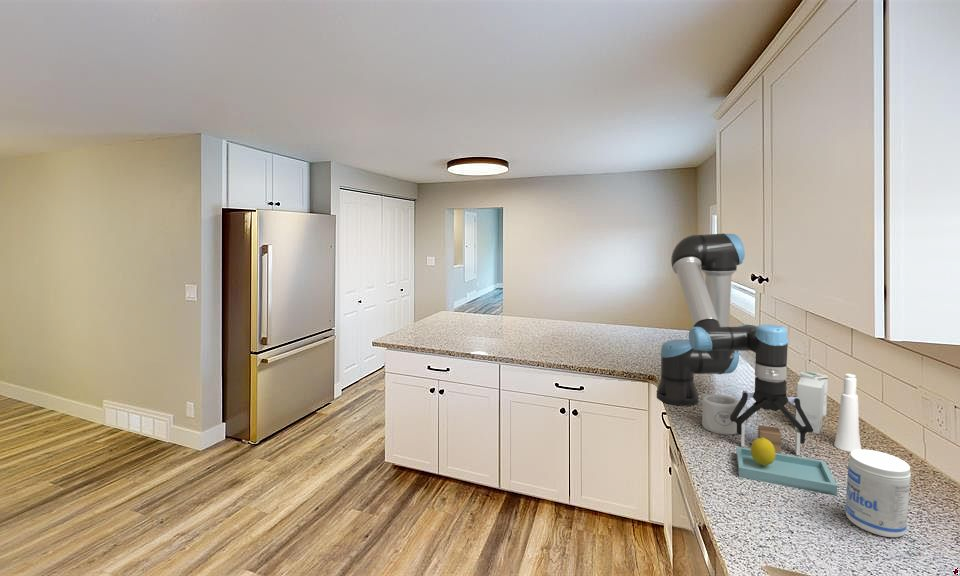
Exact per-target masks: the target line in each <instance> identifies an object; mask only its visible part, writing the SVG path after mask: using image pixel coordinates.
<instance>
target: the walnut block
mask: <svg viewBox="0 0 960 576" xmlns="http://www.w3.org/2000/svg"><path fill="white" fill-rule="evenodd" d="M757 427H758V430H757V432H758V434H757V435H758V436H757V437H758V438H762V437H764V438H765V439H767V440H769V441H770V442H771V443H772V444H773V446H774V448H775V453H779V454H782V452H781V449H782V434H781V431H780V428H779V427H772V426H765V425H760V424H759V425H758V426H757ZM758 438H757V439H758Z"/></svg>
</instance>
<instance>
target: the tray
mask: <svg viewBox="0 0 960 576" xmlns="http://www.w3.org/2000/svg"><path fill="white" fill-rule="evenodd" d="M736 462H737V471H738V477H739V478H744V479H748V480H755V481H758V482H759V481H760V482H765V483H770V484H775V485H779V486H785V487H789V488H796V489H799V490H801V489H802V490H806V491H811V492H815V493H821V494H826V495H831V496H838V484H837V482H836V481H835V479H834V477H833V474H832V472H831V470H830V468H829V466H828V465H827V462H826V461H825V460H821V459H817V458H816V459H814V458H809V457H803V456H799V455H789V454H784V453H781V454H779V453H776V456H775V460H774V461H773V463H771V464H770V465H765V466H761V465H760V464H759V463H757V462H756V461H755V460H754V459H753V457H752V455H751V448H748V447H743V446H736Z"/></svg>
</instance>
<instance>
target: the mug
mask: <svg viewBox="0 0 960 576" xmlns="http://www.w3.org/2000/svg"><path fill="white" fill-rule="evenodd" d="M739 401H740V400H738V399H737V398H735V397H733V396H730V395H727V394H726V395H725V394H720V393H718V394H717V393H714V394H713V393H712V394H706V395H703V396H702V400H701V404H702V405H701V406H702V410H701V411H702V415H701V417H702V418H701V420H702V421H701V426H702V427H703V428H704V429H705V430H706V431H709V432H711V433H714V434H719V435H724V436H725V435H726V436H728V435H729V436H730V435H734V434H737V423H736V422H732V421H731V420H730V415H731V414H732V412H733V411H734V409H735V407H736V406H737V404H738V403H739ZM743 408H745V409H746V410H748V409H749V408H750V406H748V405H746V404H745V405H744V407H743ZM746 410H745V411H746ZM739 416H740V414H739V415H738V416H737V418H738V417H739ZM749 420H750V417H749V418H748V419H747V420H746V421H744V425H748V424H749V422H750V421H749Z"/></svg>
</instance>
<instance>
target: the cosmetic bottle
mask: <svg viewBox="0 0 960 576" xmlns="http://www.w3.org/2000/svg"><path fill="white" fill-rule="evenodd" d="M844 375H845V376H844V378H843V389H842V390H843V392H842V393H841V396H840V404H839V413H838V415H839V416H838V422H837V423H838V425H837V431H836V436H835V440H834V444H833V445H834V447H835V448H836V449H838V450H841V451H844V452H848V453H851V451H853V450H858V449H862V445H861V440H860V422H859V418H860V417H859V415H860V414H859V396H858V394H857V381H858V380H857V378H856V374H852V373H845V374H844Z"/></svg>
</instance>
